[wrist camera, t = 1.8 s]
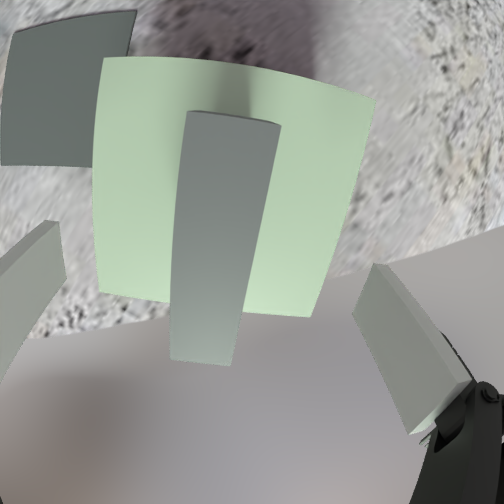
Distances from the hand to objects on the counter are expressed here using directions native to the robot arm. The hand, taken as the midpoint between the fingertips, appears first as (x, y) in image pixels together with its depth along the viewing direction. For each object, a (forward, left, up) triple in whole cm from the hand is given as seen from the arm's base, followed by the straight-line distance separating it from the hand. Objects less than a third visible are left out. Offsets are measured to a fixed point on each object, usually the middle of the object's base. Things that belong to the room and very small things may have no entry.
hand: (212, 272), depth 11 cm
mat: (-7, -21, -21) cm, 31 cm away
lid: (0, 0, -9) cm, 9 cm away
